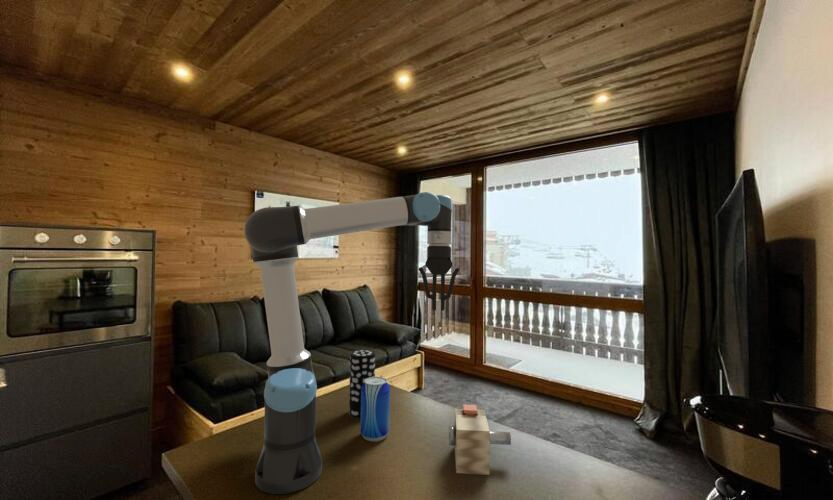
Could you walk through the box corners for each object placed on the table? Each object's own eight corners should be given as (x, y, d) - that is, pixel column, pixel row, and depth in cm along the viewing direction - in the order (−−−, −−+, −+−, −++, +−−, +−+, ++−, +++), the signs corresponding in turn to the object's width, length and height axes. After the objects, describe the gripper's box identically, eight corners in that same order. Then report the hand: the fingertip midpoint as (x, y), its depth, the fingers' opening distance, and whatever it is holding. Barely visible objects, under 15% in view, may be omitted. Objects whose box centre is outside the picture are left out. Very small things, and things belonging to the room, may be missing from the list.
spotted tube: (347, 409, 122) (348, 350, 122) (371, 406, 124) (372, 348, 125) (350, 420, 114) (351, 357, 114) (376, 417, 116) (377, 355, 117)
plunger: (463, 439, 95) (463, 410, 95) (462, 432, 99) (463, 404, 99) (477, 440, 95) (477, 410, 95) (475, 433, 98) (476, 404, 98)
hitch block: (456, 473, 87) (456, 429, 87) (454, 446, 99) (454, 408, 99) (489, 474, 87) (489, 431, 87) (483, 448, 99) (484, 409, 99)
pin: (449, 449, 91) (449, 430, 91) (448, 439, 96) (448, 422, 96) (511, 452, 90) (511, 433, 90) (508, 442, 95) (508, 425, 95)
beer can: (384, 444, 100) (385, 386, 100) (356, 441, 101) (356, 384, 102) (392, 430, 108) (393, 376, 108) (366, 427, 110) (366, 374, 110)
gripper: (417, 244, 109) (416, 322, 109) (460, 245, 108) (459, 323, 108) (419, 245, 116) (418, 318, 116) (459, 245, 115) (458, 319, 115)
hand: (438, 320), depth 112 cm, fingers closed
